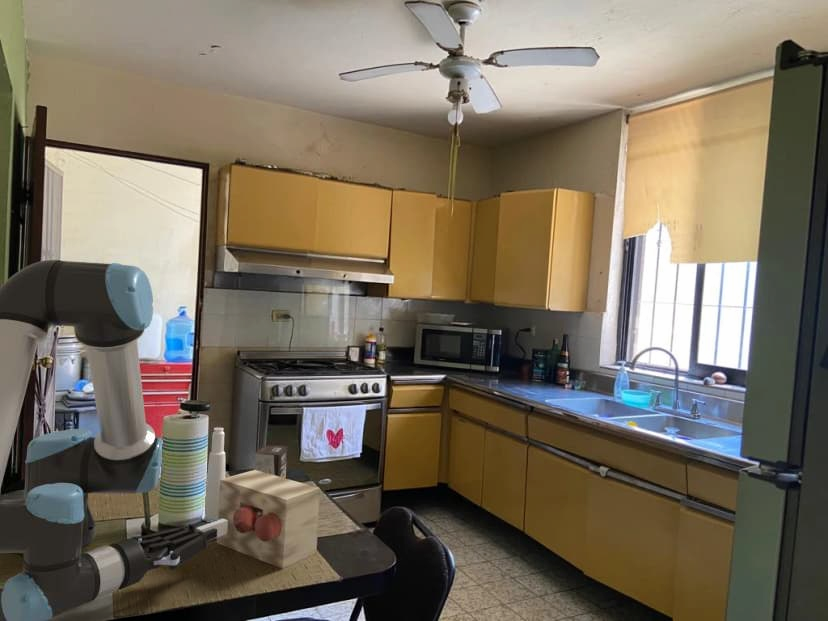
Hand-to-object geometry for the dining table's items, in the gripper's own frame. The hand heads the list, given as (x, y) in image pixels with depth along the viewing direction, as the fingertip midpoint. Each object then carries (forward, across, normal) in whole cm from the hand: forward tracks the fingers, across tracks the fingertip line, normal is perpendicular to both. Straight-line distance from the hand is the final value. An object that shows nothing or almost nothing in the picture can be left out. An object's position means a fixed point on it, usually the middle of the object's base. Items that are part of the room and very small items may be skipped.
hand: (224, 526), depth 118 cm
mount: (+10, 0, -8) cm, 13 cm away
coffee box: (+27, -14, -8) cm, 32 cm away
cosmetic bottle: (+16, -22, -8) cm, 28 cm away
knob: (+10, 0, -3) cm, 11 cm away
